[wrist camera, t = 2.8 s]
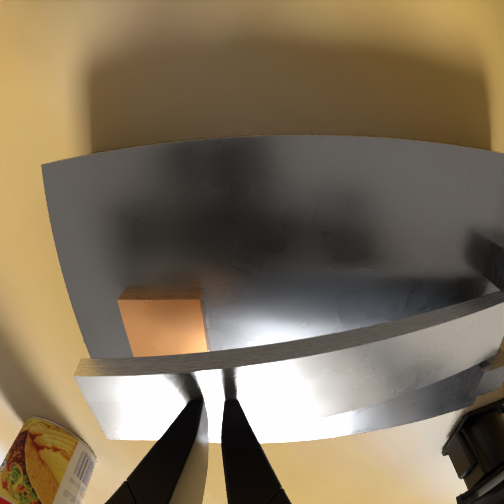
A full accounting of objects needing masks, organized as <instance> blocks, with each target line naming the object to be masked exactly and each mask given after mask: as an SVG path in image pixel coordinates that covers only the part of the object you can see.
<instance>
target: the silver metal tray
mask: <svg viewBox="0 0 504 504" xmlns="http://www.w3.org/2000/svg"><path fill="white" fill-rule="evenodd" d="M41 166H42V174H43V181H44V188H45V195H46V201H47V207H48V212H49V217H50V223H51V227H52V232H53V237H54V241H55V246H56V250H57V254H58V258H59V262H60V266H61V270H62V273H63V277H64V281H65V284H66V288H67V291H68V294H69V298H70V301H71V304H72V307H73V310H74V313H75V316H76V319H77V322H78V325H79V328H80V331H81V333H82V336H83V339H84V342H85V344H86V347H87V349H88V352H89V355H90V357H91V359H96V358H127V357H147V356H162V355H176V354H188V353H199V352H209V351H218V350H227V349H236V348H244V347H251V346H259V345H266V344H273V343H280V342H286V341H292V340H299V339H305V338H310V337H316V336H322V335H327V334H332V333H338V332H343V331H348V330H353V329H358V328H362V327H367V326H372V325H376V324H381V323H385V322H389V321H394V320H398V319H402V318H406V317H410V316H414V315H418V314H422V313H426V312H430V311H433V310H437V309H441V308H444V307H448V306H451V305H455V304H458V303H462V302H465V301H468V300H472V299H475V298H478V297H481V296H485V295H488V294H491V293H494V292H497V291H500V290H501V291H502V292H503V293H504V153H501V152H496V151H491V150H486V149H480V148H474V147H468V146H461V145H454V144H447V143H439V142H431V141H422V140H412V139H401V138H389V137H374V136H355V135H323V134H283V135H250V136H231V137H216V138H204V139H192V140H182V141H173V142H164V143H156V144H148V145H140V146H133V147H127V148H120V149H114V150H108V151H102V152H96V153H91V154H86V155H81V156H77V157H72V158H68V159H63V160H59V161H55V162H51V163H47V164H43V165H41ZM503 339H504V336H503ZM503 339H502V341H501V344H502V342H503ZM501 344H500V346H499V349H498V351H497V353H496V355H494V356H492V357H490V358H488V359H487V360H485V361H482V362H480V363H478V364H476V365H474V366H472V367H470V368H468V369H466V370H463V371H461V372H459V373H457V374H455V375H452V376H450V377H448V378H445V379H443V380H440V381H438V382H436V383H433V384H431V385H428V386H425V387H423V388H420V389H418V390H415V391H412V392H410V393H407V394H404V395H401V396H398V397H395V398H392V399H389V400H386V401H383V402H380V403H377V404H374V405H370V406H367V407H364V408H360V409H357V410H353V411H350V412H346V413H342V414H338V415H334V416H330V417H326V418H322V419H318V420H313V421H309V422H304V423H299V424H295V425H289V426H284V427H279V428H273V429H267V430H261V431H254V433H255V435H256V437H257V439H258V441H259V443H271V442H289V441H302V440H313V439H322V438H331V437H338V436H346V435H352V434H359V433H365V432H370V431H376V430H381V429H386V428H391V427H395V426H400V425H404V424H409V423H413V422H417V421H421V420H425V419H428V418H432V417H436V416H439V415H443V414H446V413H449V412H453V411H456V410H459V409H462V408H465V407H468V406H471V405H473V403H474V401H475V399H476V397H477V396H479V395H482V394H485V393H488V392H490V391H493V390H496V389H498V388H500V387H501V385H502V383H503V381H504V352H503V351H502V350H501V349H500V347H501ZM208 443H221V436H213V437H209V441H208Z"/></svg>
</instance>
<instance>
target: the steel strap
mask: <svg viewBox="0 0 504 504" xmlns="http://www.w3.org/2000/svg"><path fill="white" fill-rule="evenodd" d="M503 336H504V293H503V292H502V291H501V290H500V291H497V292H494V293H491V294H488V295H485V296H481V297H478V298H475V299H472V300H468V301H465V302H462V303H458V304H455V305H451V306H448V307H444V308H441V309H437V310H433V311H430V312H426V313H422V314H418V315H414V316H410V317H406V318H402V319H398V320H394V321H389V322H385V323H381V324H376V325H372V326H367V327H362V328H358V329H353V330H348V331H343V332H338V333H332V334H327V335H322V336H316V337H310V338H305V339H299V340H292V341H286V342H280V343H273V344H266V345H259V346H251V347H244V348H236V349H227V350H218V351H209V352H199V353H188V354H176V355H162V356H147V357H127V358H96V359H80V362H79V364H78V367H77V369H76V372H75V374H74V378H75V380H76V382H77V384H78V386H79V388H80V390H81V392H82V394H83V396H84V398H85V400H86V402H87V404H88V405H89V407H90V409H91V411H92V413H93V415H94V416H95V418H96V420H97V422H98V423H99V425H100V427H101V429H102V430H103V432H104V434H105V435H106V437H107V439H112V440H159V438H160V437H161V436H162V435H163V433H164V432H165V431H166V429H167V428H168V427H169V426H170V424H171V423H172V422H173V421H174V419H175V418H176V417H177V415H178V414H179V413H180V412H181V410H182V409H183V408H184V406H185V405H186V404H187V402H188V401H189V400H191V399H203V400H204V401H205V403H206V408H207V412H208V417H209V437H213V436H221V435H220V433H221V422H222V413H223V404H224V400H225V399H238V400H239V401H240V404H241V406H242V408H243V410H244V412H245V414H246V416H247V418H248V421H249V423H250V425H251V427H252V429H253V431H261V430H267V429H273V428H279V427H284V426H289V425H295V424H299V423H304V422H309V421H313V420H318V419H322V418H326V417H330V416H334V415H338V414H342V413H346V412H350V411H353V410H357V409H360V408H364V407H367V406H370V405H374V404H377V403H380V402H383V401H386V400H389V399H392V398H395V397H398V396H401V395H404V394H407V393H410V392H412V391H415V390H418V389H420V388H423V387H425V386H428V385H431V384H433V383H436V382H438V381H440V380H443V379H445V378H448V377H450V376H452V375H455V374H457V373H459V372H461V371H463V370H466V369H468V368H470V367H472V366H474V365H476V364H478V363H480V362H482V361H485V360H487V359H488V358H490V357H492V356H494V355H496V353H497V351H498V349H499V346H500V344H501V341H502V339H503Z"/></svg>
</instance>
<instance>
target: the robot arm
mask: <svg viewBox="0 0 504 504" xmlns="http://www.w3.org/2000/svg"><path fill="white" fill-rule="evenodd" d="M220 435H221V447H222V457H223V466H224V475H225V483H226V491H227V499H228V504H292V503H291V502H290V500H289V499H288V497H287V495H286V493H285V491H284V489H283V488H282V486H281V484H280V482H279V480H278V478H277V476H276V475H275V473H274V471H273V469H272V467H271V465H270V463H269V461H268V459H267V457H266V455H265V453H264V451H263V449H262V447H261V445H260V443H259V441H258V439H257V437H256V435H255V433H254V431H253V429H252V427H251V425H250V423H249V421H248V418H247V416H246V414H245V412H244V410H243V408H242V406H241V404H240V401H239V400H238V399H225V400H224V404H223V413H222V422H221V433H220ZM208 441H209V417H208V412H207V408H206V403H205V401H204V400H203V399H191V400H189V401H188V402H187V404H186V405H185V406H184V408H183V409H182V410H181V412H180V413H179V414H178V415H177V417H176V418H175V419H174V421H173V422H172V423H171V424H170V426H169V427H168V428H167V429H166V431H165V432H164V433H163V435H162V436H161V437H160V438H159V440H158V441H157V442H156V443H155V445H154V446H153V447H152V448H151V450H150V451H149V452H148V453H147V455H146V456H145V457H144V458H143V460H142V461H141V462H140V463H139V464H138V466H137V467H136V468H135V469H134V471H133V472H132V473H131V474H130V475H129V477H128V478H127V481H124V482H123V484H122V485H121V486H120V487H119V489H118V490H117V491H116V492H115V493H114V494H113V495H112V496H111V497H110V499H109V500H108V501H107V502H106V503H105V504H202V501H203V495H204V489H205V482H206V476H207V469H208ZM442 454H443V456H446V455H449V457H450V459H451V461H452V463H453V466H454V468H455V470H456V473H457V475H458V477H459V478H460V479H464V482H465V484H466V486H467V489H468V491H466V492H465V493H463V494H460V495H459V496H457V497H456V500H457V504H504V400H501V401H499V402H497V403H494V404H492V405H489V406H486V407H484V408H481V409H478V410H476V411H473V412H470V413H468V414H466V415H465V416H464V417H463V419H462V421H461V422H460V424H459V426H458V427H457V429H456V431H455V432H454V434H453V435H452V437H451V439H450V440H449V442H448V443H447V445H446V446H445V448H444V449H443V451H442Z"/></svg>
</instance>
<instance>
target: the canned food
mask: <svg viewBox="0 0 504 504" xmlns="http://www.w3.org/2000/svg"><path fill="white" fill-rule="evenodd" d="M95 464H96V456H95V454H94V452H93V451H92V450H91V448H90V447H89V446H88V445H87V444H86V443H85V442H84V441H82V440H81V439H80V438H79V437H77V436H76V435H75V434H73V433H72V432H71V431H69V430H67V429H66V428H64V427H62V426H61V425H59V424H57V423H55V422H53V421H50V420H48V419H45V418H42V417H36V416H34V417H29V418H28V419H27V420H26V422H25V424H24V425H23V427H22V429H21V430H20V432H19V434H18V436H17V437H16V439H15V441H14V443H13V444H12V446H11V448H10V450H9V452H8V454H7V455H6V457H5V459H4V461H3V463H2V465H1V467H0V504H81V503H82V500H83V498H84V495H85V492H86V489H87V486H88V483H89V480H90V478H91V475H92V472H93V469H94V467H95Z"/></svg>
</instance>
